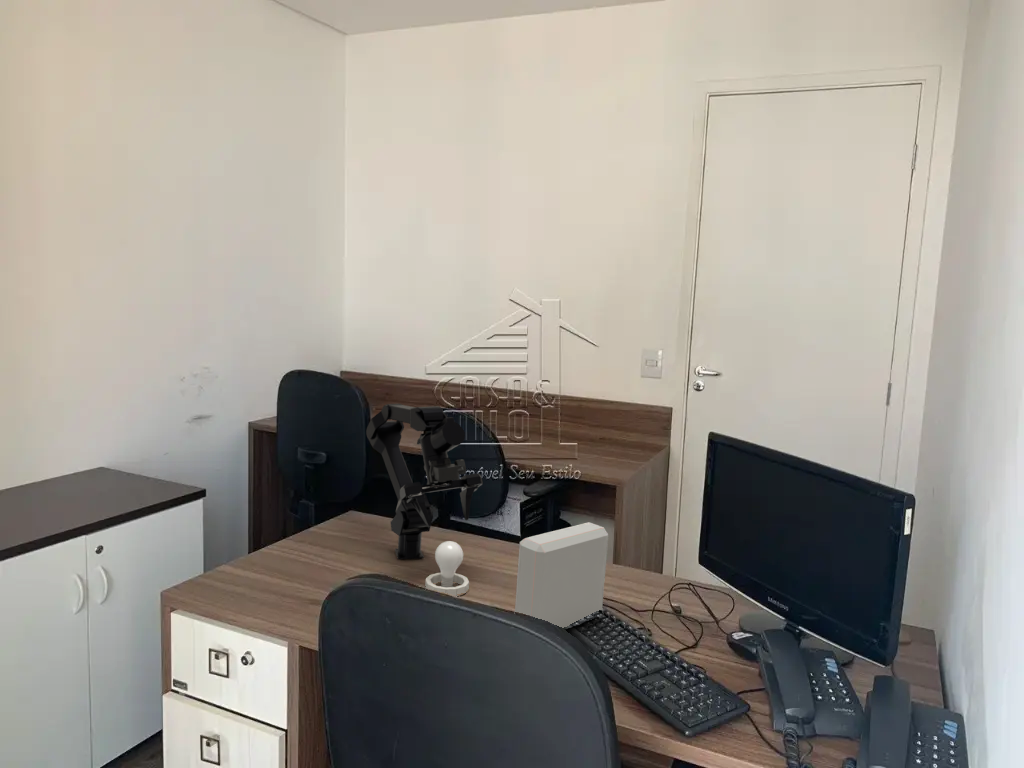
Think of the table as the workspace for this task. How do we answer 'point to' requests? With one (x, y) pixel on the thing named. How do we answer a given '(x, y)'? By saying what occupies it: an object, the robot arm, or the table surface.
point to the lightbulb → (448, 561)
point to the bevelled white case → (562, 574)
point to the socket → (450, 590)
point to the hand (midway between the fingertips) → (448, 523)
